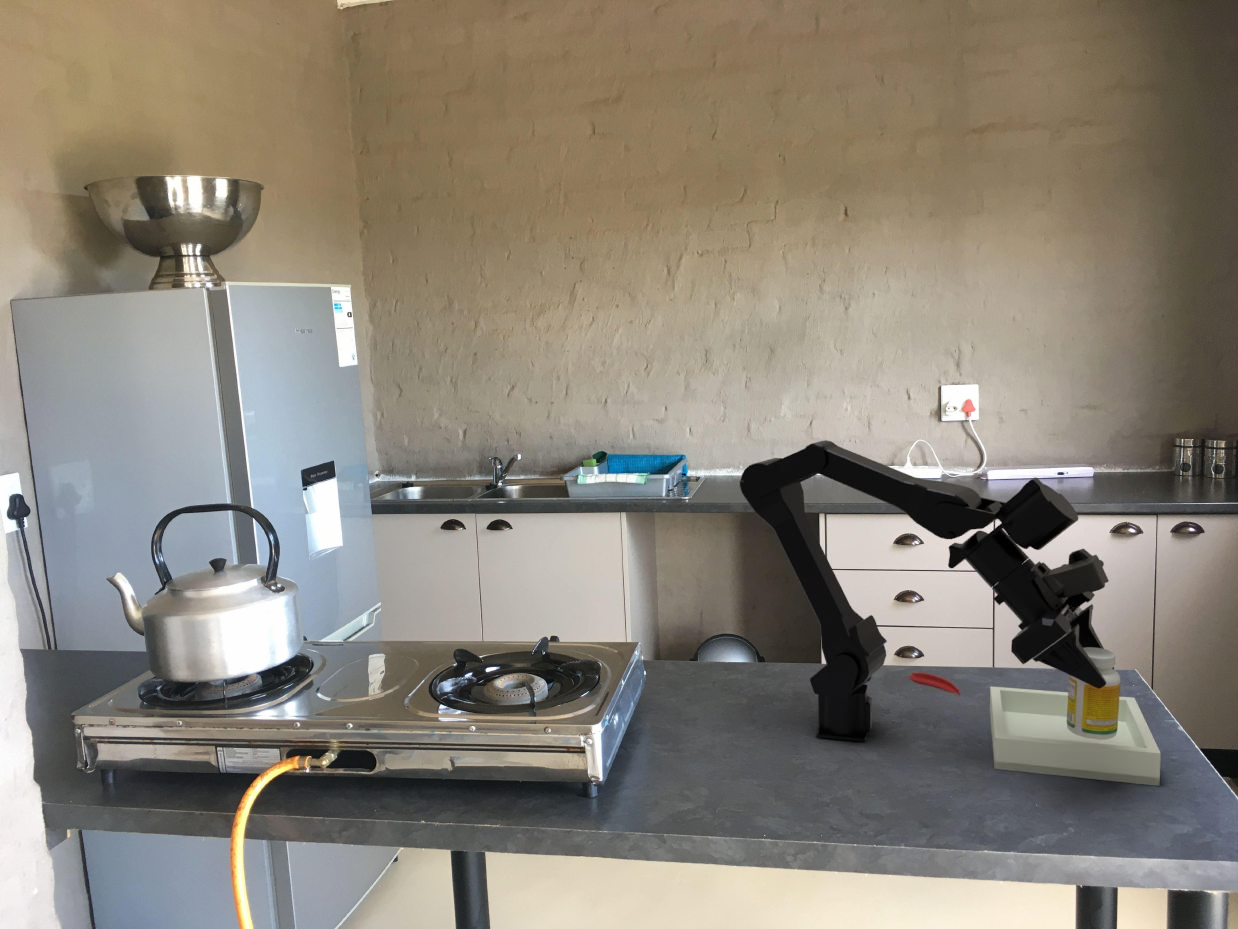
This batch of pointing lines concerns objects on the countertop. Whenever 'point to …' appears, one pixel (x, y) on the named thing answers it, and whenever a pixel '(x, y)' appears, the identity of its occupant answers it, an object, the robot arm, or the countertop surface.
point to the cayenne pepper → (934, 682)
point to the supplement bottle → (1095, 700)
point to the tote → (1068, 739)
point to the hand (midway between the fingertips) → (1107, 678)
